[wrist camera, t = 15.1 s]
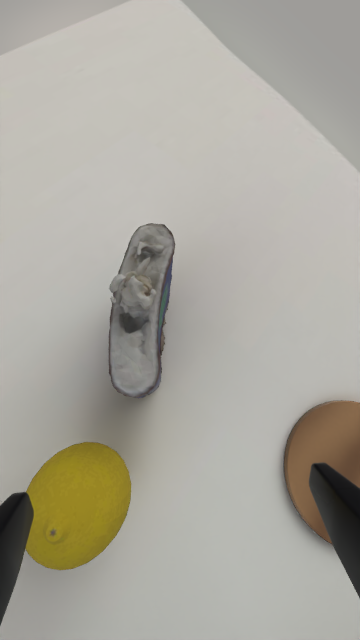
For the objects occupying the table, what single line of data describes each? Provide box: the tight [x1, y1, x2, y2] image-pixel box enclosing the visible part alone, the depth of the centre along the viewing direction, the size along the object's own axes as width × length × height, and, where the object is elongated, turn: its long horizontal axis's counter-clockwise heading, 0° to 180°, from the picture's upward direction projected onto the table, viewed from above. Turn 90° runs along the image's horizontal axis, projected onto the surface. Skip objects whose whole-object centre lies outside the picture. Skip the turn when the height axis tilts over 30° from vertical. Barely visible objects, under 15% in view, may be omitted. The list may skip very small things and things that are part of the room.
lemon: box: [26, 442, 131, 570], centre depth 15 cm, size 6×6×8 cm
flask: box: [109, 223, 175, 398], centre depth 17 cm, size 9×3×11 cm, turn 174°
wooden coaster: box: [284, 400, 360, 545], centre depth 20 cm, size 10×10×1 cm
